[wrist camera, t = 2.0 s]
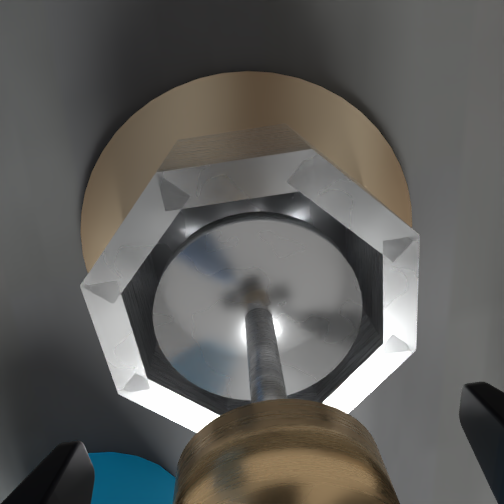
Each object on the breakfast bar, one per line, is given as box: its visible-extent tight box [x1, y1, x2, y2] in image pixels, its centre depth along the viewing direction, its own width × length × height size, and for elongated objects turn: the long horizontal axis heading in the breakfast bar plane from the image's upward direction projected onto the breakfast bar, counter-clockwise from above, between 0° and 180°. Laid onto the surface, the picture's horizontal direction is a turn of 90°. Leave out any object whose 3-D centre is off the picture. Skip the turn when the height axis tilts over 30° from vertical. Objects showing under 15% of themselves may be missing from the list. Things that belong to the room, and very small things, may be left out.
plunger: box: [153, 211, 400, 504], centre depth 9 cm, size 6×6×7 cm
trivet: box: [81, 71, 412, 273], centre depth 17 cm, size 13×13×1 cm
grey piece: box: [80, 124, 420, 432], centre depth 15 cm, size 9×12×5 cm
